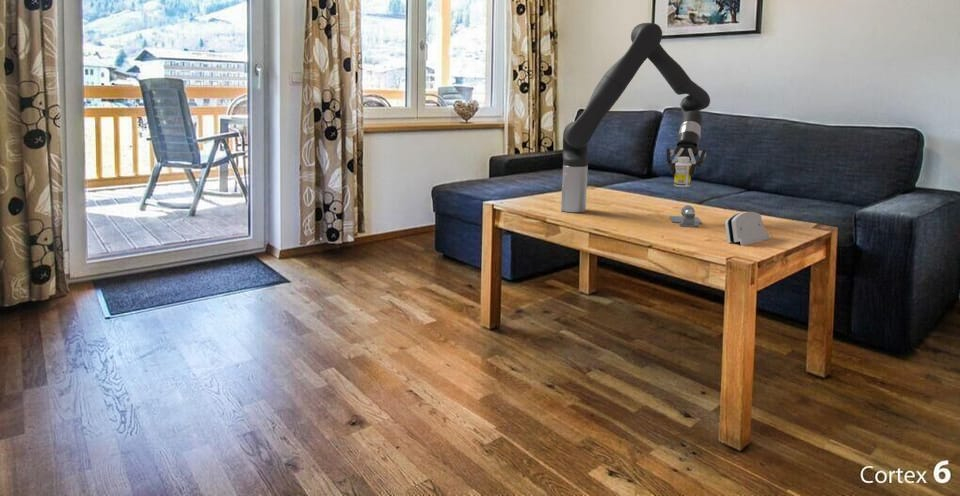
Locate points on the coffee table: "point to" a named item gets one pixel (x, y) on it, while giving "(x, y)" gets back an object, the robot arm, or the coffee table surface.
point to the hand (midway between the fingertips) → (682, 174)
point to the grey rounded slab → (745, 228)
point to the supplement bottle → (682, 172)
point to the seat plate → (681, 219)
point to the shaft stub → (688, 217)
